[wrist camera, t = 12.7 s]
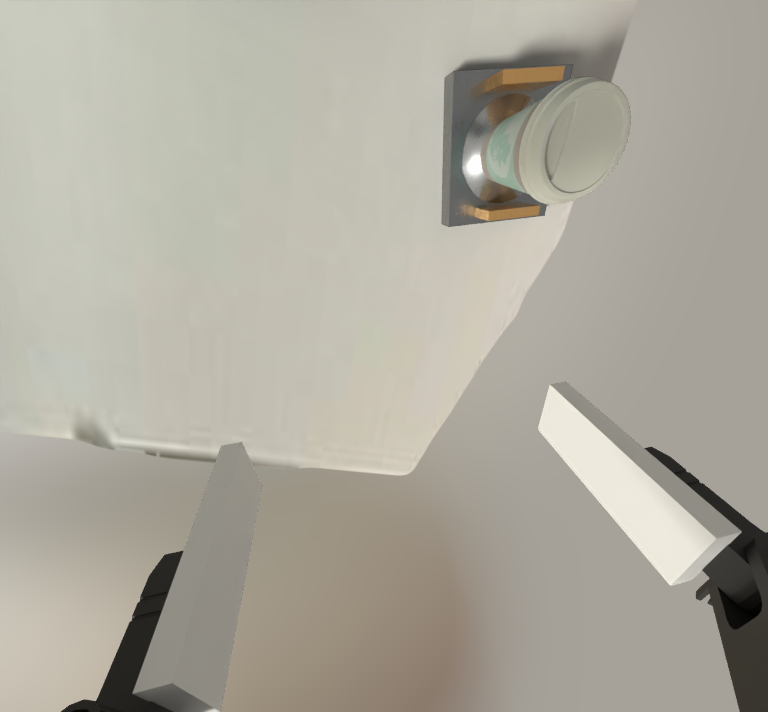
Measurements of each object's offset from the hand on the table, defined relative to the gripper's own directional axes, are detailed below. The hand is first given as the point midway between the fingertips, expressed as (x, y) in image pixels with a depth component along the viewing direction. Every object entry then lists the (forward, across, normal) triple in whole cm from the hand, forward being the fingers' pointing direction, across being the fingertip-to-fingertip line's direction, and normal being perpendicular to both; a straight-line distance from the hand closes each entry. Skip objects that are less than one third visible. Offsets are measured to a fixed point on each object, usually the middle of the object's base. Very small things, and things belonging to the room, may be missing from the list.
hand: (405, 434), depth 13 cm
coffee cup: (+28, +18, +10) cm, 35 cm away
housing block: (+31, +19, +10) cm, 37 cm away
